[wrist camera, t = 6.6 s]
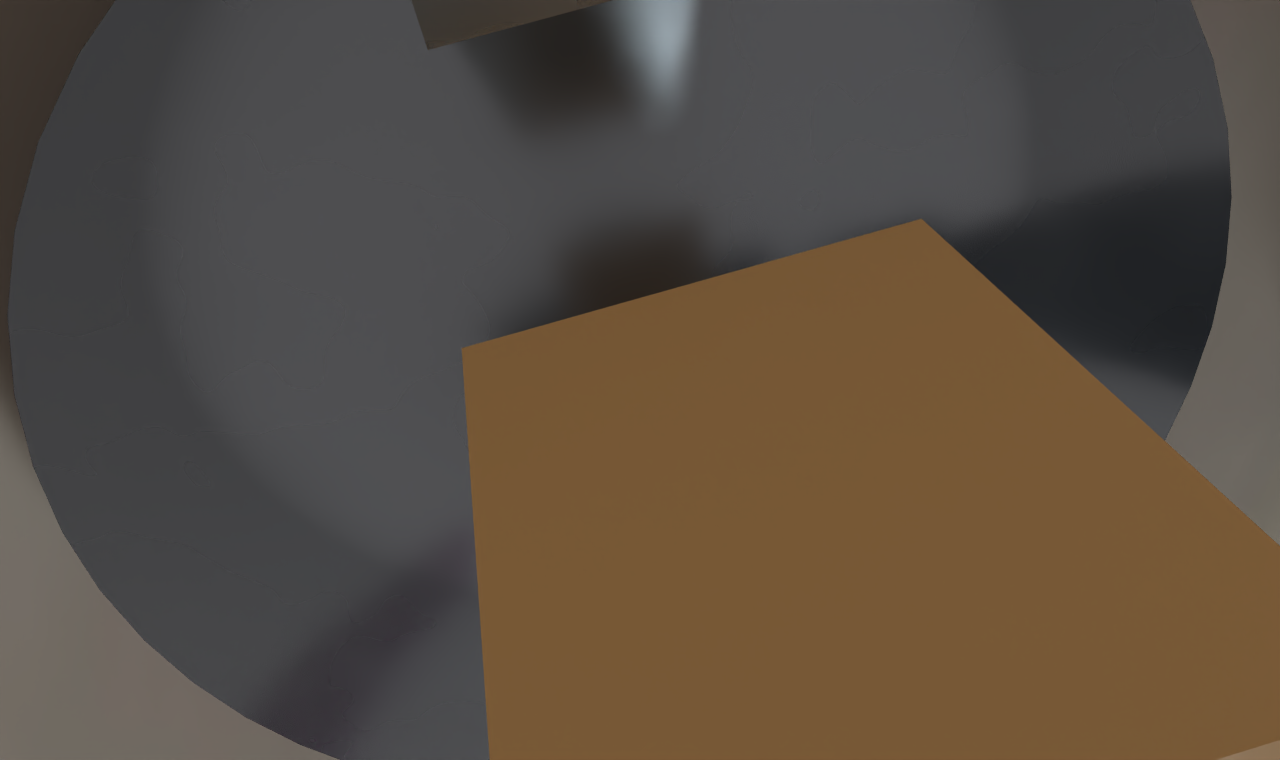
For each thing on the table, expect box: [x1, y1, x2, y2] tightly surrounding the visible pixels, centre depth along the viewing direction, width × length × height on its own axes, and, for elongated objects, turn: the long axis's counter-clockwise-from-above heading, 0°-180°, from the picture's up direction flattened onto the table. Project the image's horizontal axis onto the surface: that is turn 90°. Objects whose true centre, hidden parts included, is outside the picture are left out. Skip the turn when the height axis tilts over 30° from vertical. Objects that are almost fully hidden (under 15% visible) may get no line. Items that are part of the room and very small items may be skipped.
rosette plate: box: [8, 0, 1231, 760], centre depth 13 cm, size 16×16×3 cm
